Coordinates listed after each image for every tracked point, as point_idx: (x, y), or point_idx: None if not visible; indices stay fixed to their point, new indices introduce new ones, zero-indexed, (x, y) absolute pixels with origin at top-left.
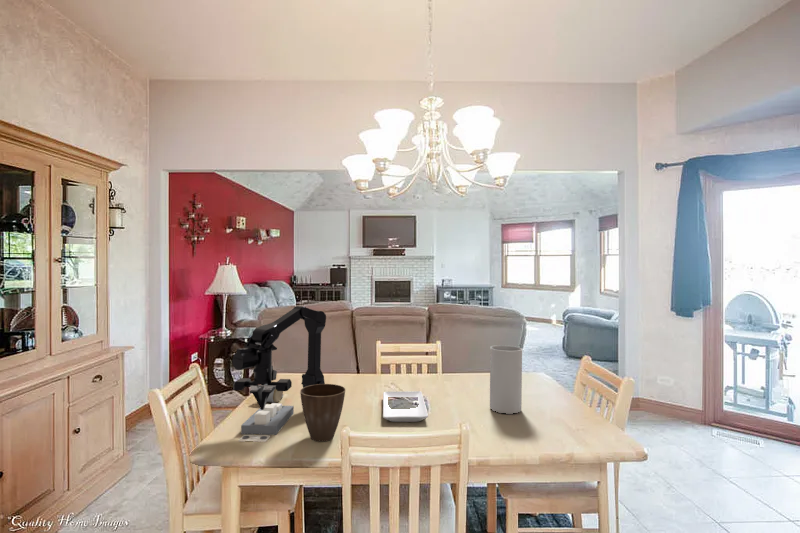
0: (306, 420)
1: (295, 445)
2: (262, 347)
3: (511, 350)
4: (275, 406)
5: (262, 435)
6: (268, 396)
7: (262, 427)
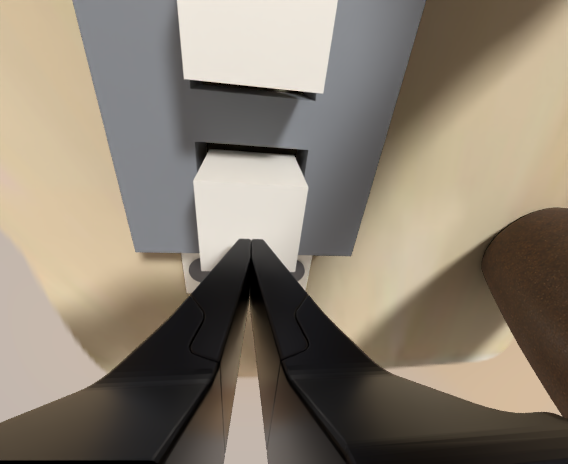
0: (528, 360)
1: (414, 306)
2: None
3: None
4: None
5: None
6: (332, 329)
7: None
